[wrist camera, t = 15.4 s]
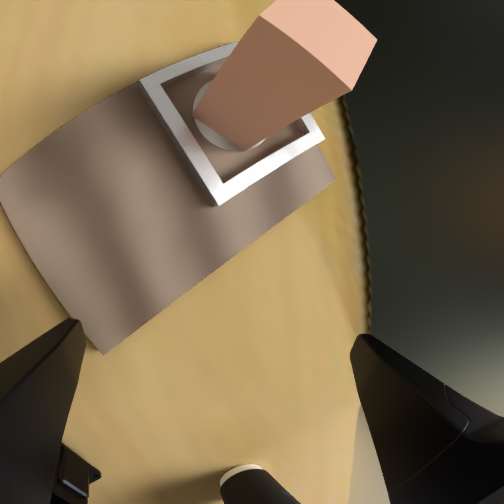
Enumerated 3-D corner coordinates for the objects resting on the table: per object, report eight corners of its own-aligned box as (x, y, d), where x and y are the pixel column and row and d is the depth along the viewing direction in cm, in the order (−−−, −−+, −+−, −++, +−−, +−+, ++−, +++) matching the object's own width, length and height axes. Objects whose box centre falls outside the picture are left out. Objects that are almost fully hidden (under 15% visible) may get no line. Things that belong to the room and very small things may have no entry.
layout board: (104, 349, 17) (102, 362, 15) (-2, 185, 14) (-15, 181, 11) (328, 181, 24) (345, 177, 22) (244, 45, 20) (254, 31, 18)
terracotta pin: (244, 151, 19) (351, 90, 9) (191, 115, 18) (259, 15, 8) (273, 107, 20) (377, 39, 10) (225, 73, 18) (305, -22, 8)
